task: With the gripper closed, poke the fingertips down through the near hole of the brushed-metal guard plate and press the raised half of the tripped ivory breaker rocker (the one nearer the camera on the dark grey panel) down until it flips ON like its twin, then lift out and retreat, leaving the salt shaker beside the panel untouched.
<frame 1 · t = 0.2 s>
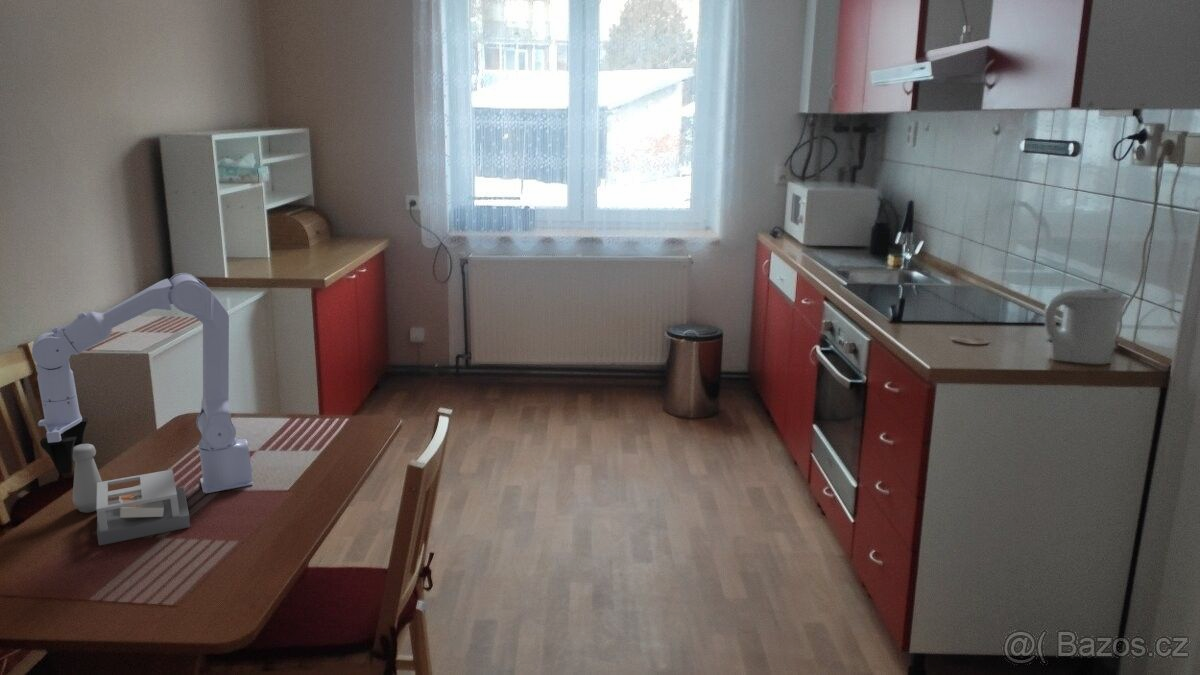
hand: (70, 464, 168), 10 cm above the table, fingers open, 7 cm apart
rocker far: (140, 493, 169), point 4 cm above the table, hinge at 12.0°
rocker near: (141, 507, 163), point 4 cm above the table, hinge at -12.0°
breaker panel: (144, 520, 167), on the table
salt shaker: (91, 509, 173), on the table, touching gripper
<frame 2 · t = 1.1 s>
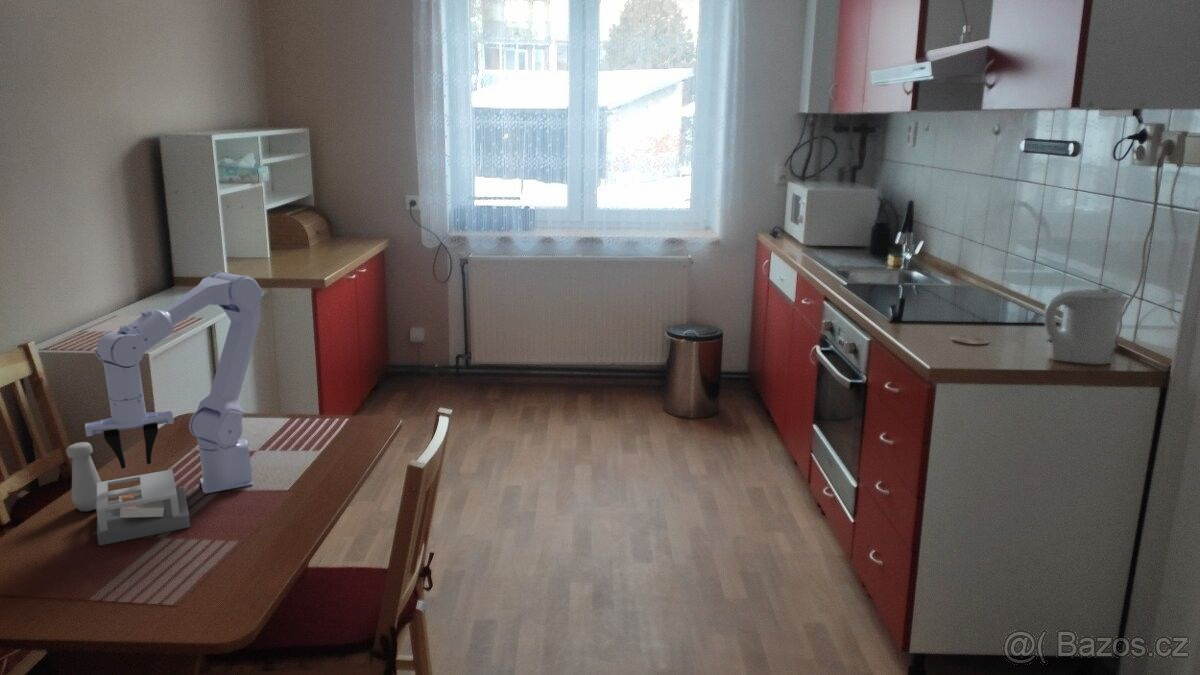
hand: (136, 464, 167), 10 cm above the table, fingers open, 4 cm apart
salt shaker: (91, 508, 173), on the table
everything else where it was.
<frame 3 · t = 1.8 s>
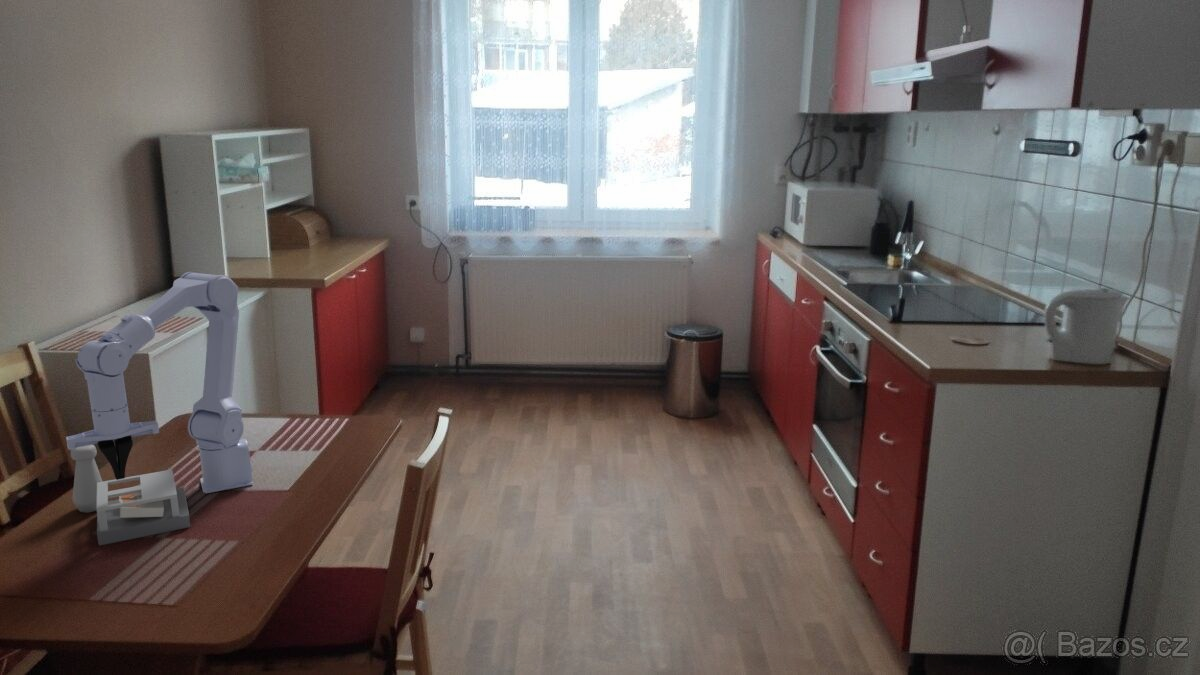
hand: (119, 477, 161), 11 cm above the table, fingers closed
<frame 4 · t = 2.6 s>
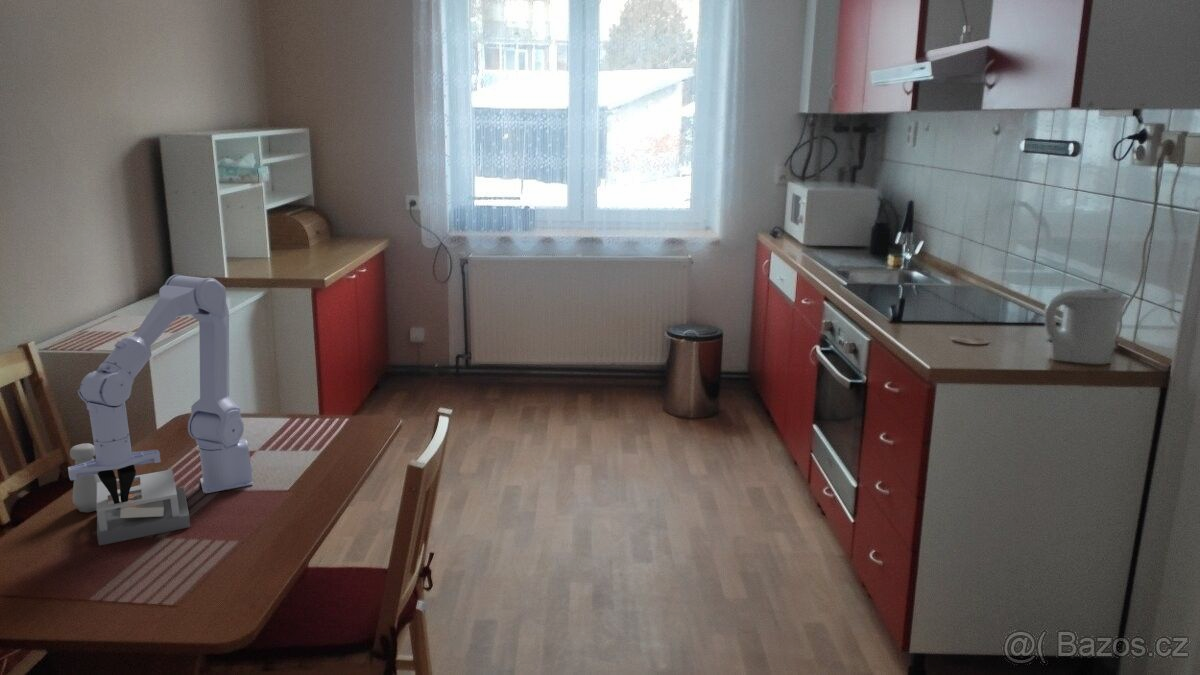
hand: (121, 506, 162), 5 cm above the table, fingers closed, pressing on rocker near
rocker near: (141, 507, 163), point 4 cm above the table, hinge at -10.5°, touching gripper
everything else where it was.
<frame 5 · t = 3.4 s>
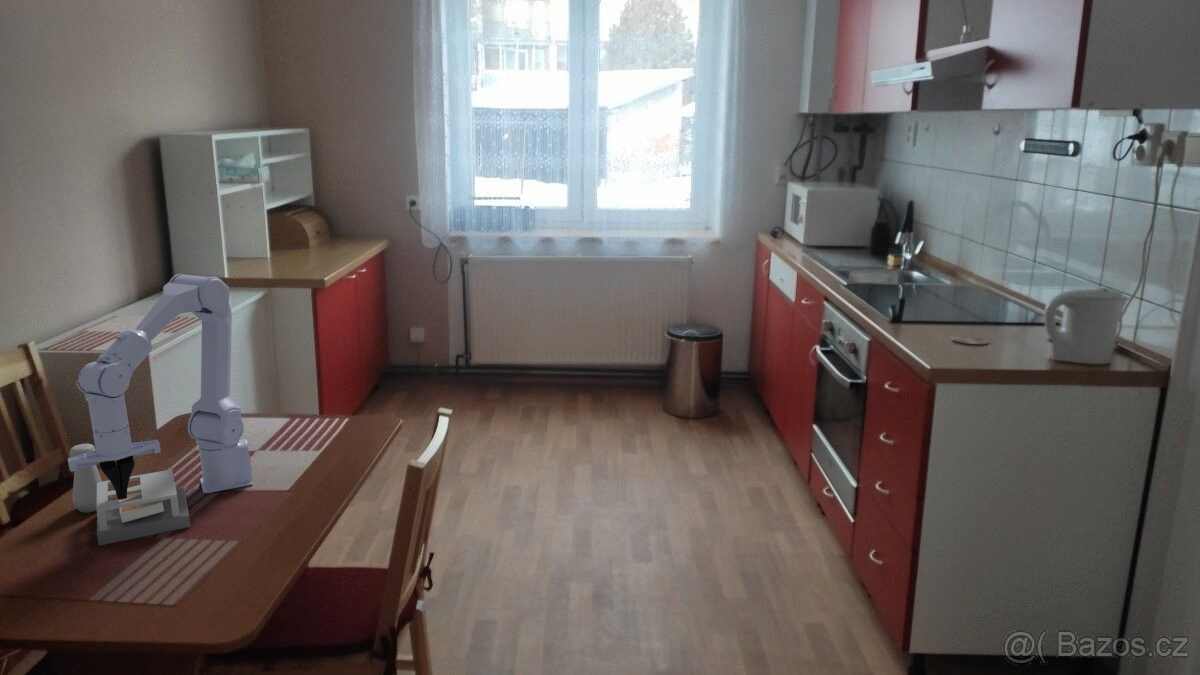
hand: (121, 497, 161), 7 cm above the table, fingers closed
rocker near: (141, 507, 163), point 4 cm above the table, hinge at 5.8°
everything else where it was.
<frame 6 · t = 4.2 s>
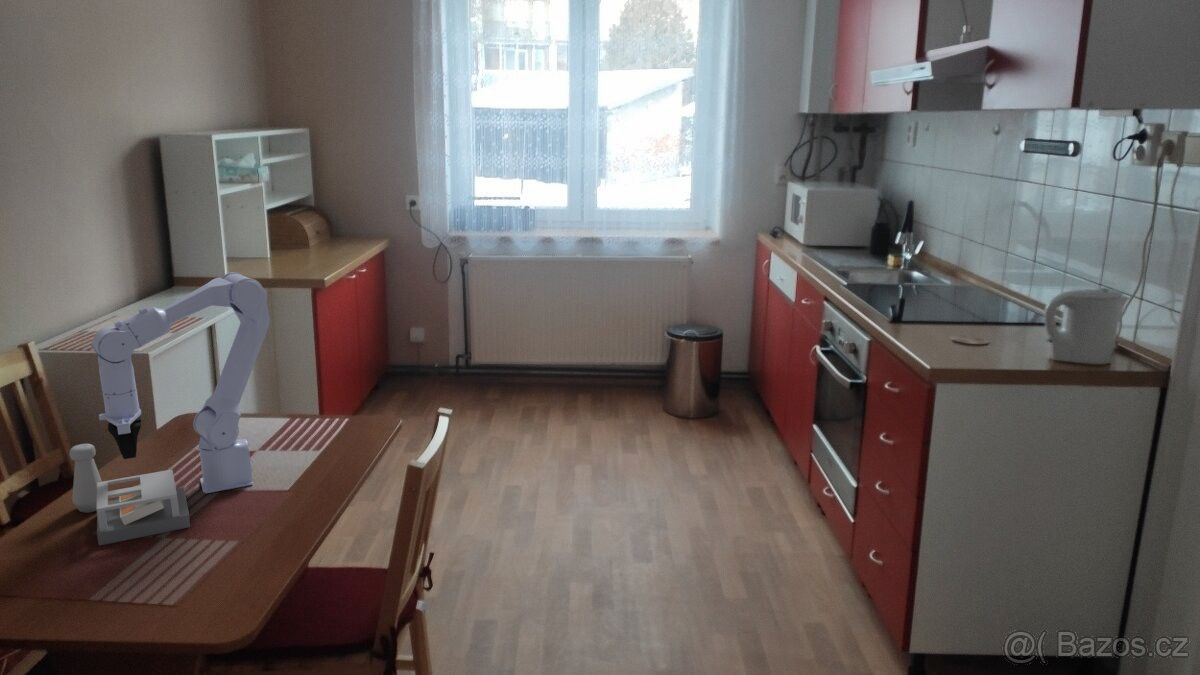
hand: (129, 457, 171), 10 cm above the table, fingers closed
rocker near: (141, 507, 163), point 4 cm above the table, hinge at 15.9°, touching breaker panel
everything else where it was.
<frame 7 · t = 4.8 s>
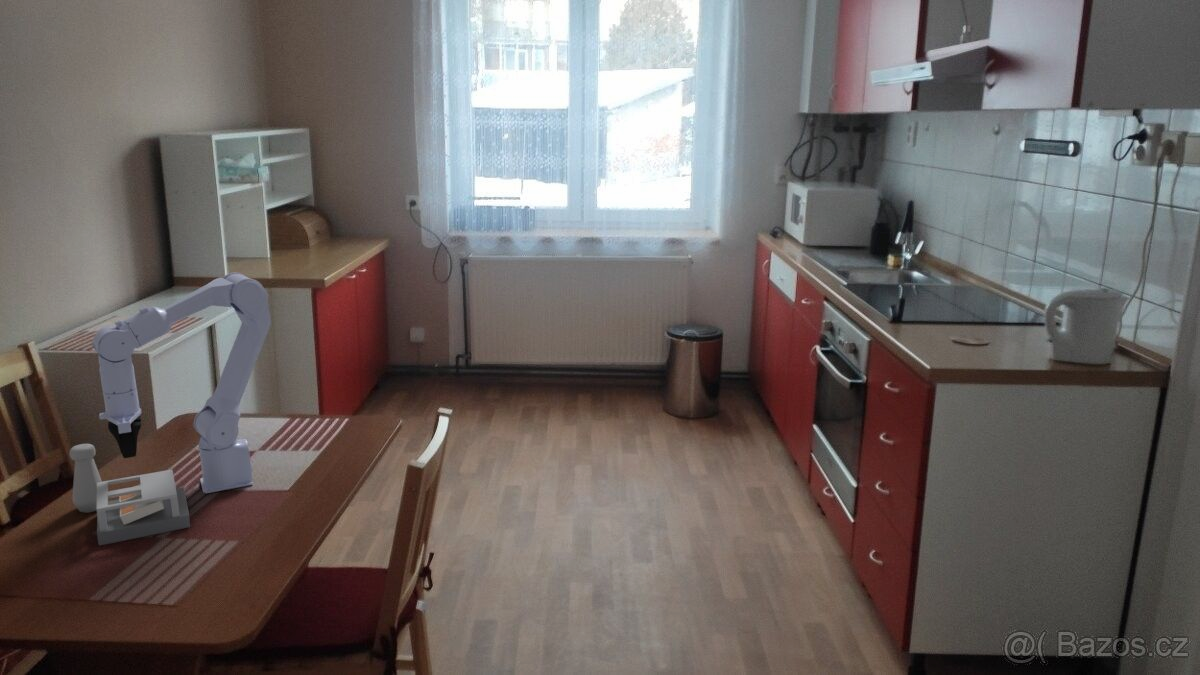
hand: (129, 456, 171), 10 cm above the table, fingers closed
rocker near: (141, 507, 163), point 4 cm above the table, hinge at 14.2°
everything else where it was.
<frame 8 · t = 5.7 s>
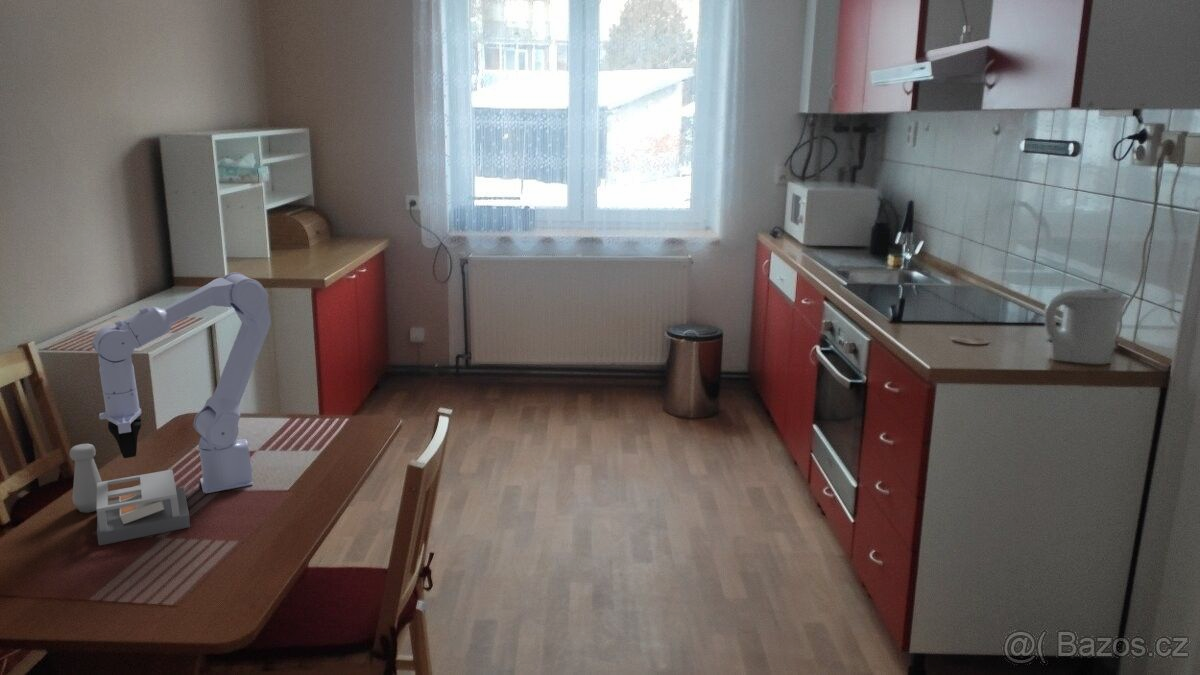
hand: (129, 456, 171), 10 cm above the table, fingers closed
rocker near: (141, 507, 163), point 4 cm above the table, hinge at 11.7°
everything else where it was.
at the end: rocker near at +12° (first picture: -12°) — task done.
